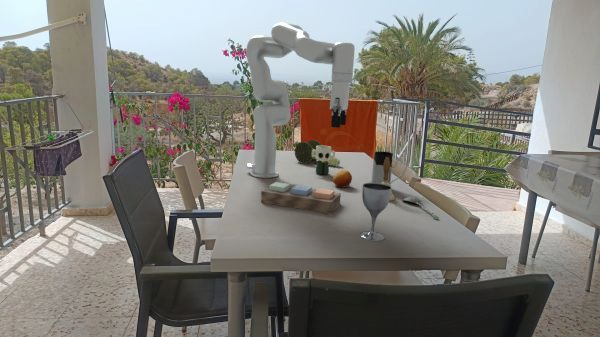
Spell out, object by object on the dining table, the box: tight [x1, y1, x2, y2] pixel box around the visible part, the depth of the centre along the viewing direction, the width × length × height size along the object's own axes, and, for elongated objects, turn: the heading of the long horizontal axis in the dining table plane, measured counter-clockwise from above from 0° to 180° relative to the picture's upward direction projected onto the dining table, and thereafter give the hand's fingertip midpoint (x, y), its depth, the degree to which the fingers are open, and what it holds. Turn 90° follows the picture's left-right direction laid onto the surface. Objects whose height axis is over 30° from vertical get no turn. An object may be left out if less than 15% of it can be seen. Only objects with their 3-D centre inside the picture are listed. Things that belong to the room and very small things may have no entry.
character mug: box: [312, 144, 336, 175], centre depth 187 cm, size 11×7×13 cm, turn 93°
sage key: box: [269, 181, 291, 192], centre depth 144 cm, size 6×6×3 cm
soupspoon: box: [401, 196, 440, 220], centre depth 143 cm, size 22×3×7 cm
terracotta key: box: [314, 187, 335, 200], centre depth 139 cm, size 6×6×3 cm
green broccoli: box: [294, 139, 341, 168], centre depth 211 cm, size 25×12×11 cm, turn 58°
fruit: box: [332, 169, 353, 188], centre depth 168 cm, size 8×8×8 cm
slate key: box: [291, 184, 313, 196], centre depth 141 cm, size 6×6×3 cm
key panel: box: [260, 185, 342, 215], centre depth 142 cm, size 26×12×4 cm, turn 70°
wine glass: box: [359, 182, 392, 242], centre depth 114 cm, size 8×8×15 cm
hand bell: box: [382, 157, 396, 202], centre depth 153 cm, size 8×8×16 cm
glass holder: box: [370, 151, 408, 185], centre depth 167 cm, size 9×14×15 cm, turn 70°
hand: (338, 126), depth 147 cm, fingers open, 9 cm apart
